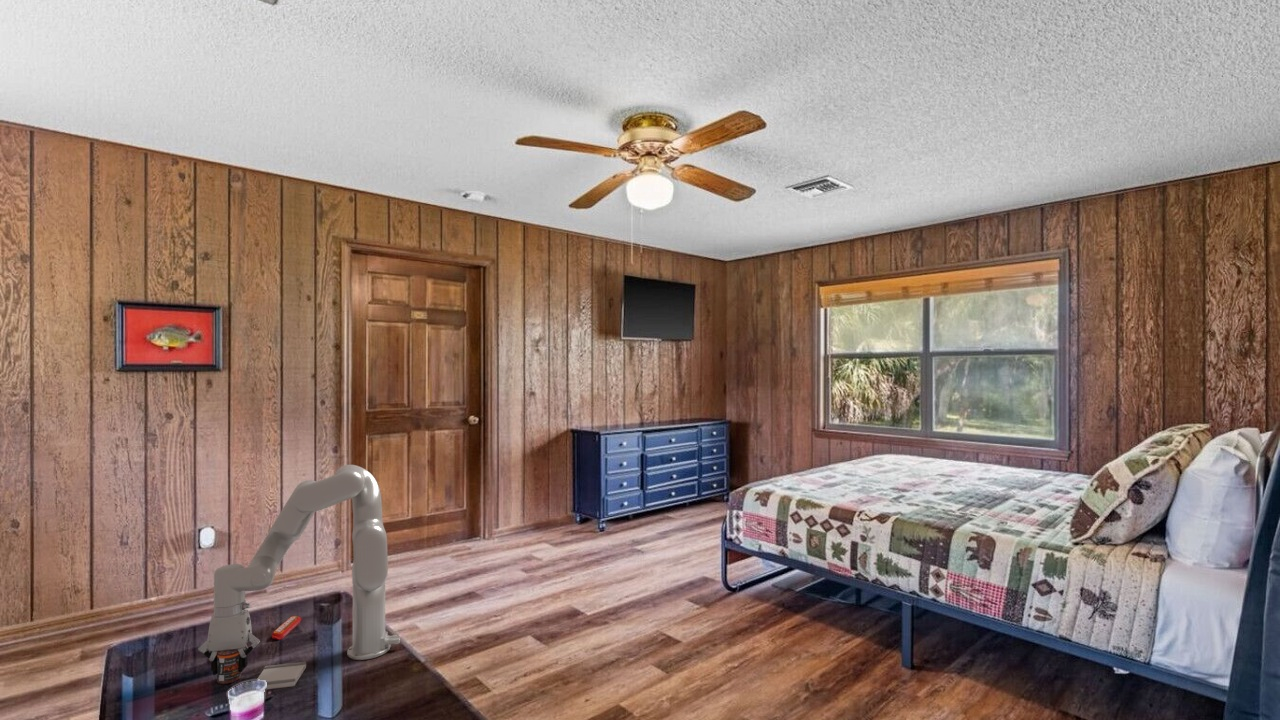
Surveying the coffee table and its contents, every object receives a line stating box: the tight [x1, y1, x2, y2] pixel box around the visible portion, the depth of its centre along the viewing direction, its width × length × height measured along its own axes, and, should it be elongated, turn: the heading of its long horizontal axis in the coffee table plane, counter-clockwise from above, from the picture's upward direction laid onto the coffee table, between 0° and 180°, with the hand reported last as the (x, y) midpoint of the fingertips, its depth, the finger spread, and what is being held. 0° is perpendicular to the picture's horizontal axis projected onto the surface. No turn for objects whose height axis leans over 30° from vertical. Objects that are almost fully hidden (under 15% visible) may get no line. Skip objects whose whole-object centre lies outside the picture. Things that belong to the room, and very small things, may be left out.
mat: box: [255, 661, 307, 690], centre depth 176 cm, size 11×11×2 cm
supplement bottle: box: [216, 649, 242, 685], centre depth 176 cm, size 6×6×11 cm
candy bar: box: [271, 615, 302, 641], centre depth 208 cm, size 16×4×3 cm, turn 6°
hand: (229, 670), depth 176 cm, fingers closed on supplement bottle, 6 cm apart
